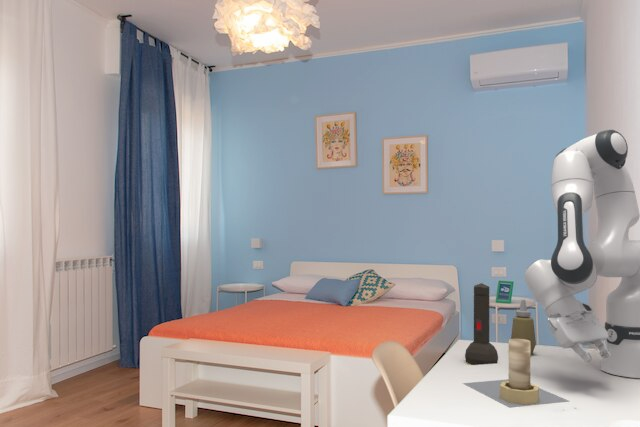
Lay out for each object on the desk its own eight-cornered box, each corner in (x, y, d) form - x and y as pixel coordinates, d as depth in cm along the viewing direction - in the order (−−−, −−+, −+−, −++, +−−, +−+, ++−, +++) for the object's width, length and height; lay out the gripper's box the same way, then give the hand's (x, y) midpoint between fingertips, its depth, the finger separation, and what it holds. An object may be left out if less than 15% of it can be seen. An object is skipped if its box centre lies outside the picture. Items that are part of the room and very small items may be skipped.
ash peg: (518, 394, 137) (518, 337, 137) (534, 399, 132) (535, 341, 132) (504, 397, 134) (504, 339, 134) (520, 402, 130) (520, 343, 130)
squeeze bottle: (538, 357, 179) (538, 302, 180) (512, 355, 181) (512, 301, 181) (533, 351, 187) (533, 299, 188) (509, 350, 189) (509, 298, 189)
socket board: (516, 382, 150) (516, 367, 151) (569, 405, 131) (569, 388, 131) (462, 387, 146) (462, 372, 146) (509, 411, 126) (509, 394, 126)
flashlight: (471, 357, 178) (460, 363, 170) (471, 280, 179) (460, 283, 171) (502, 362, 173) (492, 368, 165) (502, 282, 173) (492, 285, 165)
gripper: (553, 308, 141) (587, 356, 134) (593, 305, 153) (626, 349, 146) (536, 321, 145) (568, 369, 137) (576, 318, 157) (607, 361, 149)
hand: (598, 358), depth 142 cm, fingers open, 8 cm apart
